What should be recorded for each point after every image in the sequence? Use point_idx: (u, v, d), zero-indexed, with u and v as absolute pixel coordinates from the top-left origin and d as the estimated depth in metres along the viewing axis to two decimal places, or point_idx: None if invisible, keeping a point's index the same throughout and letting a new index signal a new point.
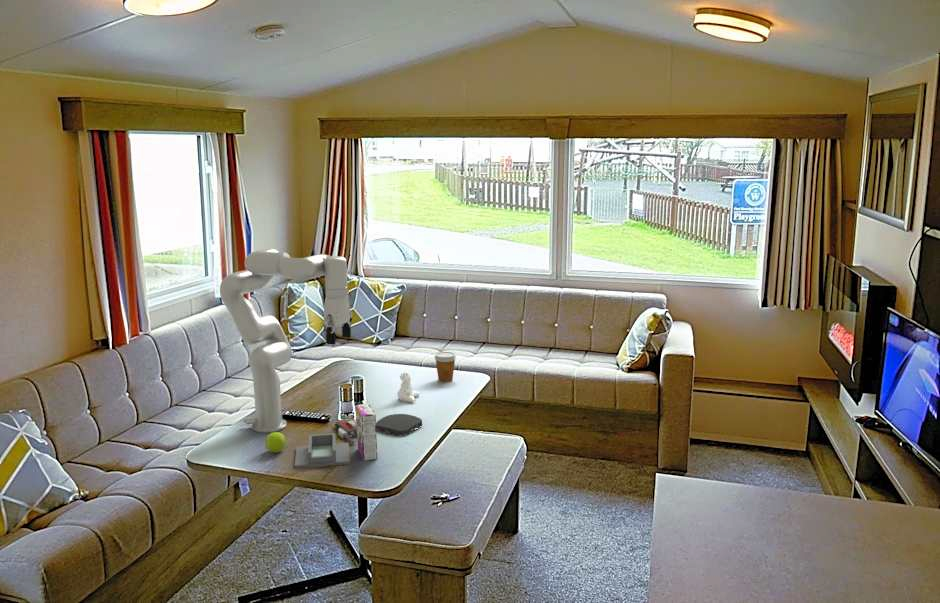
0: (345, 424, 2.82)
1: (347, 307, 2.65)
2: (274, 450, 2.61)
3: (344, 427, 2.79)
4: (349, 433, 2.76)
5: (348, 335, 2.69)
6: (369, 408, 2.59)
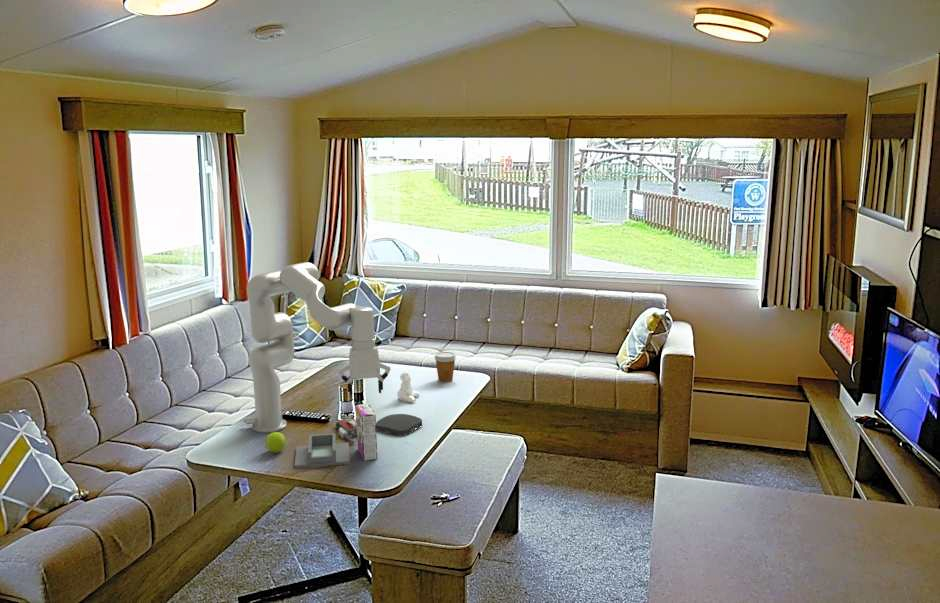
0: (346, 424, 2.82)
1: None
2: (274, 450, 2.61)
3: (345, 427, 2.80)
4: (349, 433, 2.77)
5: None
6: (369, 408, 2.59)
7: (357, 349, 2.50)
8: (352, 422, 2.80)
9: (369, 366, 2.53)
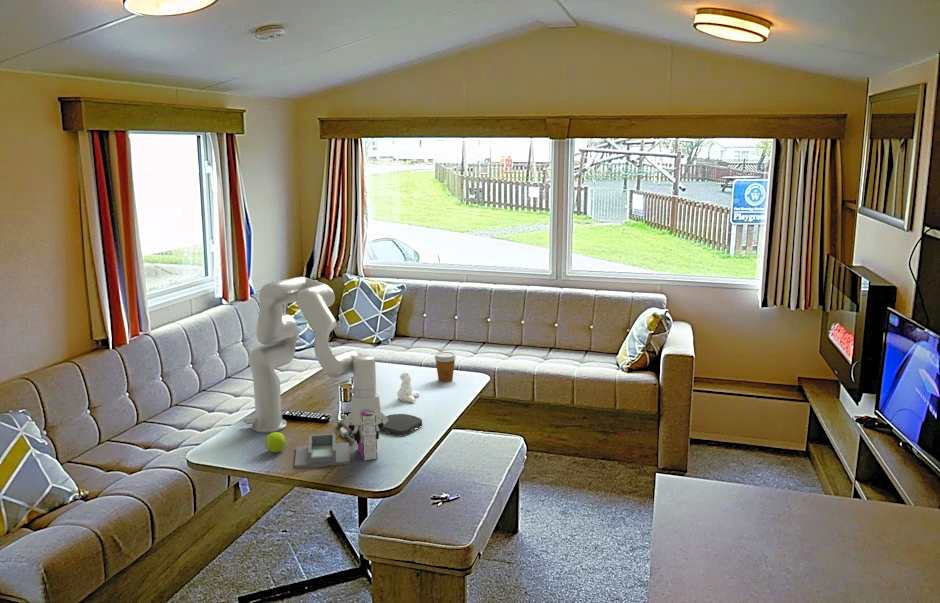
0: None
1: None
2: (274, 450, 2.61)
3: (346, 426, 2.80)
4: (350, 432, 2.77)
5: None
6: None
7: (359, 397, 2.54)
8: None
9: None
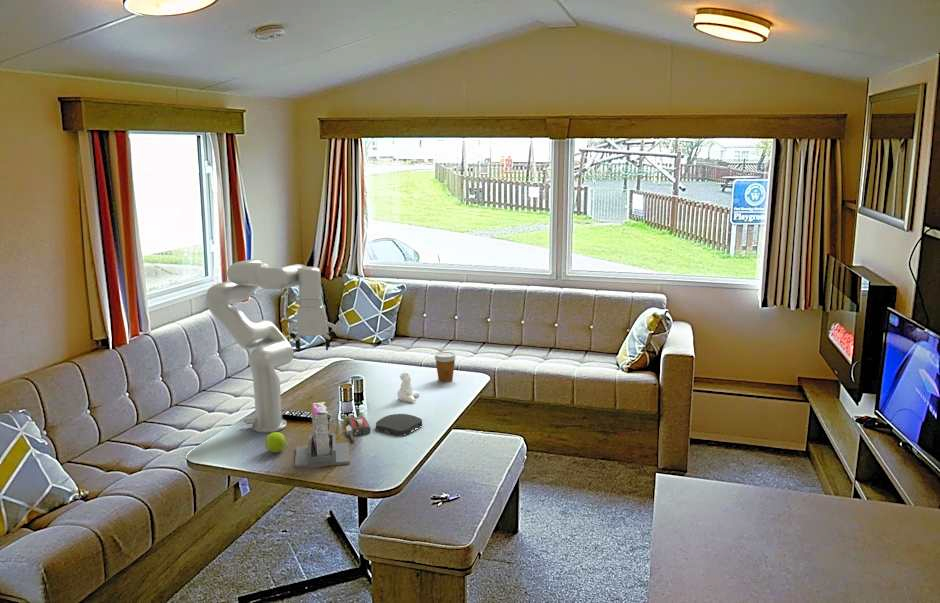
0: (354, 422, 2.84)
1: None
2: (274, 450, 2.61)
3: (352, 424, 2.82)
4: (354, 431, 2.79)
5: None
6: (323, 406, 2.57)
7: (304, 307, 2.62)
8: (359, 420, 2.82)
9: (316, 324, 2.64)
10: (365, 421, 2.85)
